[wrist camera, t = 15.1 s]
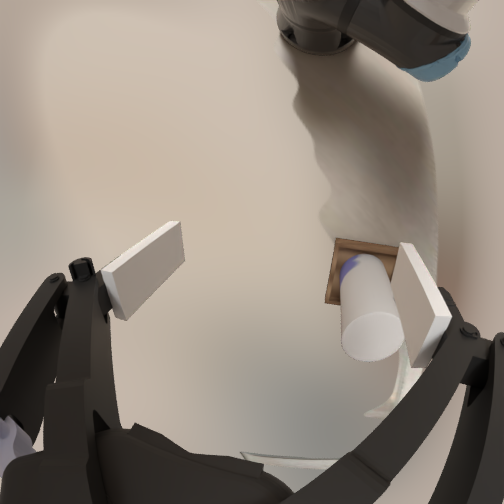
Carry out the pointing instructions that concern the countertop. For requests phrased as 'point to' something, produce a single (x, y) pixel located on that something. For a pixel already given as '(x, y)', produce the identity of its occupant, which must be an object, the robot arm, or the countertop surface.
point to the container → (368, 310)
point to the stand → (349, 249)
